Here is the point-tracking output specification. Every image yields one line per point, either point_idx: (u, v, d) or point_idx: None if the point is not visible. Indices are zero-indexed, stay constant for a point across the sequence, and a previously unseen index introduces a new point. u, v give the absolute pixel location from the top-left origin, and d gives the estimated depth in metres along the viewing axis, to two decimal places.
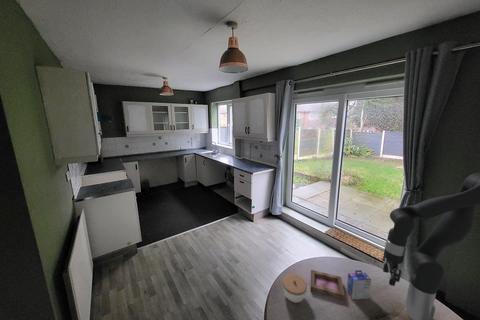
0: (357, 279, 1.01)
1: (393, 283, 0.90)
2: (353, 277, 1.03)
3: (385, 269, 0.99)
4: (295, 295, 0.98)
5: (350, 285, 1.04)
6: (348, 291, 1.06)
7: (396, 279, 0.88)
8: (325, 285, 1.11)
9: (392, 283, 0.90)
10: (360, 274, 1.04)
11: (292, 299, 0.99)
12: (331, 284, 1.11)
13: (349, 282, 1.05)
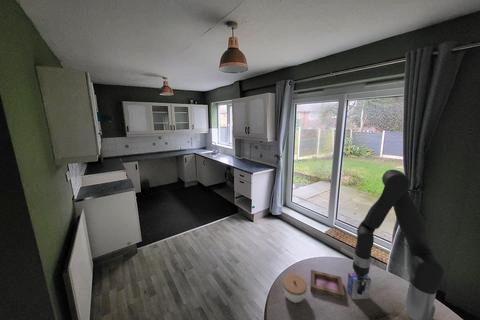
0: (357, 279, 1.01)
1: (360, 292, 1.00)
2: (353, 277, 1.03)
3: None
4: (295, 295, 0.98)
5: (350, 285, 1.04)
6: (348, 291, 1.06)
7: (362, 289, 0.98)
8: (325, 285, 1.11)
9: (359, 292, 1.00)
10: None
11: (292, 299, 0.99)
12: (331, 284, 1.11)
13: (349, 282, 1.05)
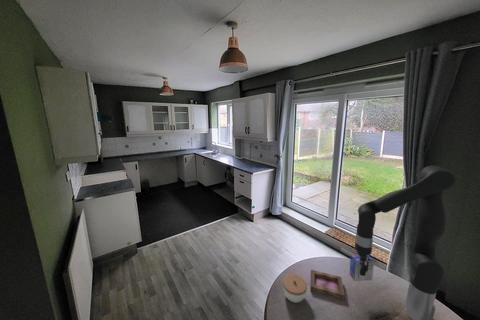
0: (359, 260, 0.99)
1: (363, 273, 0.98)
2: (355, 258, 1.00)
3: None
4: (295, 295, 0.98)
5: (352, 267, 1.02)
6: (351, 273, 1.03)
7: (365, 269, 0.96)
8: (325, 285, 1.11)
9: (362, 273, 0.98)
10: None
11: (292, 299, 0.99)
12: (331, 284, 1.11)
13: (351, 264, 1.02)
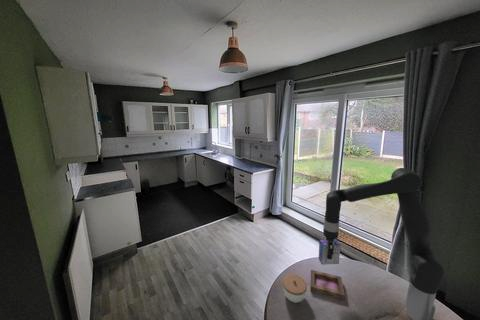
0: None
1: (329, 257, 1.02)
2: (323, 242, 1.05)
3: None
4: (295, 295, 0.98)
5: (320, 251, 1.06)
6: (319, 257, 1.08)
7: (330, 252, 1.00)
8: (325, 285, 1.11)
9: (329, 257, 1.02)
10: None
11: (292, 299, 0.99)
12: (331, 284, 1.11)
13: (320, 248, 1.07)
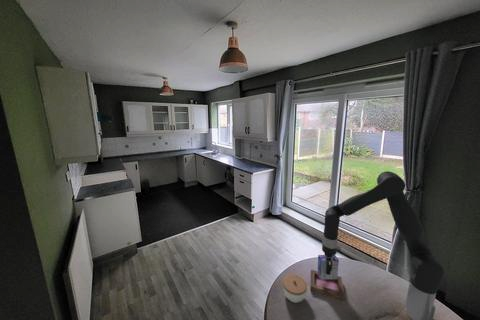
0: (325, 260, 1.05)
1: (328, 272, 1.04)
2: (322, 258, 1.07)
3: None
4: (295, 295, 0.98)
5: (319, 266, 1.08)
6: (318, 272, 1.10)
7: (329, 268, 1.02)
8: (325, 285, 1.11)
9: (327, 272, 1.04)
10: None
11: (292, 299, 0.99)
12: (331, 284, 1.11)
13: (318, 263, 1.09)
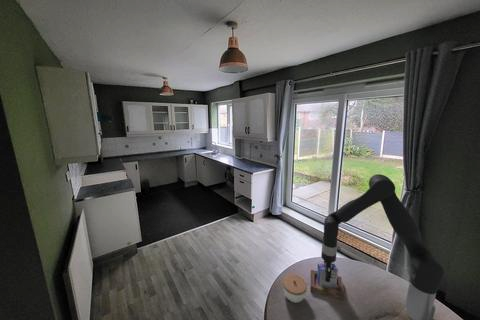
0: (324, 269, 1.07)
1: (327, 280, 1.04)
2: (321, 267, 1.09)
3: None
4: (295, 295, 0.98)
5: (318, 275, 1.10)
6: (317, 280, 1.12)
7: (328, 276, 1.02)
8: None
9: (327, 280, 1.05)
10: None
11: (292, 299, 0.99)
12: None
13: (318, 272, 1.11)
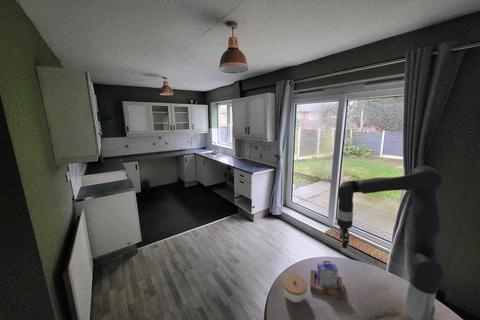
0: (324, 269, 1.07)
1: (345, 246, 1.03)
2: (321, 267, 1.09)
3: (341, 236, 1.12)
4: (295, 295, 0.98)
5: (318, 275, 1.10)
6: (317, 280, 1.12)
7: (346, 241, 1.01)
8: None
9: (344, 246, 1.04)
10: (328, 265, 1.09)
11: (292, 299, 0.99)
12: None
13: (318, 272, 1.11)
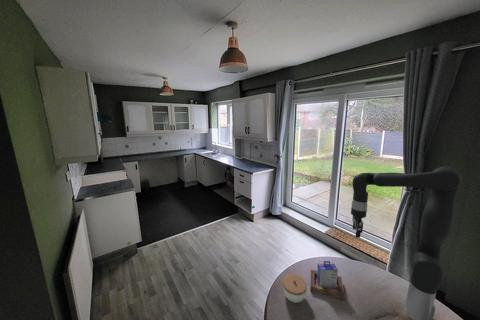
0: (324, 269, 1.07)
1: (358, 235, 1.06)
2: (321, 267, 1.09)
3: (354, 226, 1.15)
4: (295, 295, 0.98)
5: (318, 275, 1.10)
6: (317, 280, 1.12)
7: (360, 230, 1.04)
8: None
9: (357, 235, 1.07)
10: (328, 265, 1.09)
11: (292, 299, 0.99)
12: None
13: (318, 272, 1.11)
